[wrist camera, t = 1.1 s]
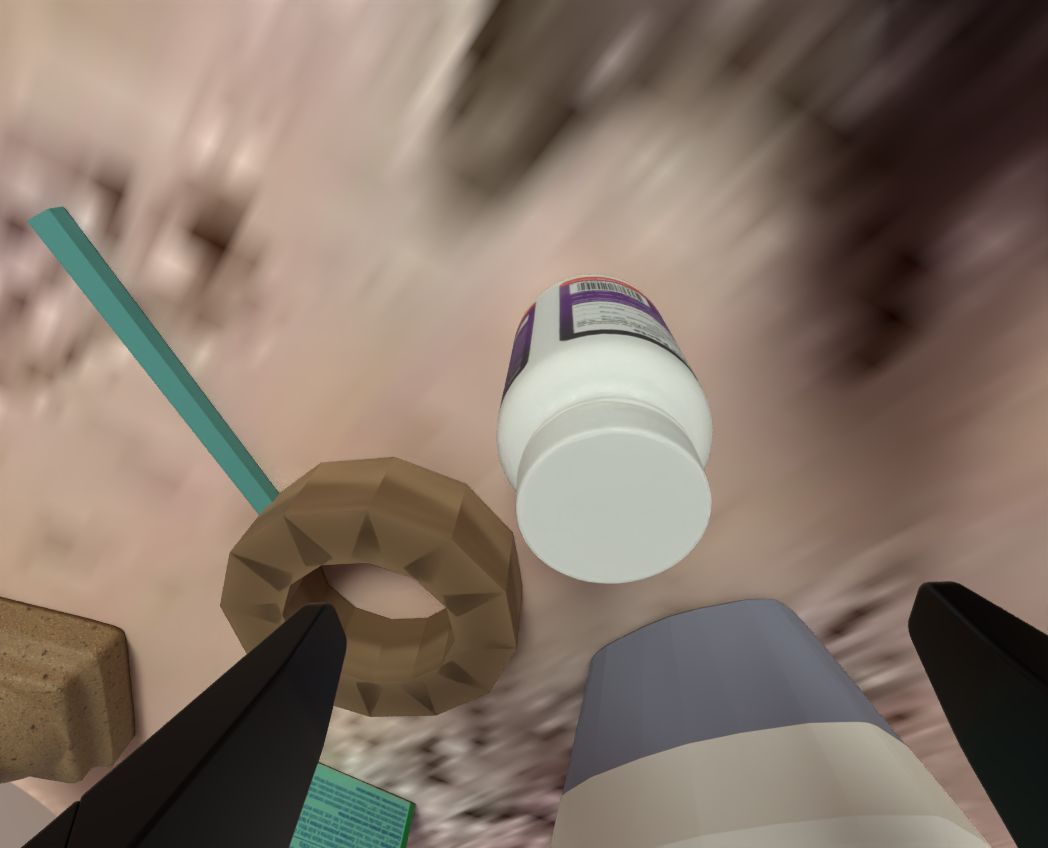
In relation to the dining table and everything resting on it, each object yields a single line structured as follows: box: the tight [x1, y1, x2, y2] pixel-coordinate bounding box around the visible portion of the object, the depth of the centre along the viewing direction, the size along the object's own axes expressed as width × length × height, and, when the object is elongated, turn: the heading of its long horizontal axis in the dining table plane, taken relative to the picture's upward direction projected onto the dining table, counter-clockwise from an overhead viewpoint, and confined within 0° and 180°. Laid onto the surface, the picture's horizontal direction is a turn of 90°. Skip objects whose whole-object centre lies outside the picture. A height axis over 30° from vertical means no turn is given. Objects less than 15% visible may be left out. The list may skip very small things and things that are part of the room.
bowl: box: [550, 599, 992, 848], centre depth 23 cm, size 15×15×11 cm
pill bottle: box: [497, 274, 713, 584], centre depth 15 cm, size 5×5×10 cm
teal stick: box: [27, 207, 279, 515], centre depth 21 cm, size 14×1×1 cm, turn 22°
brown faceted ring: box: [220, 457, 522, 717], centre depth 24 cm, size 12×12×4 cm
